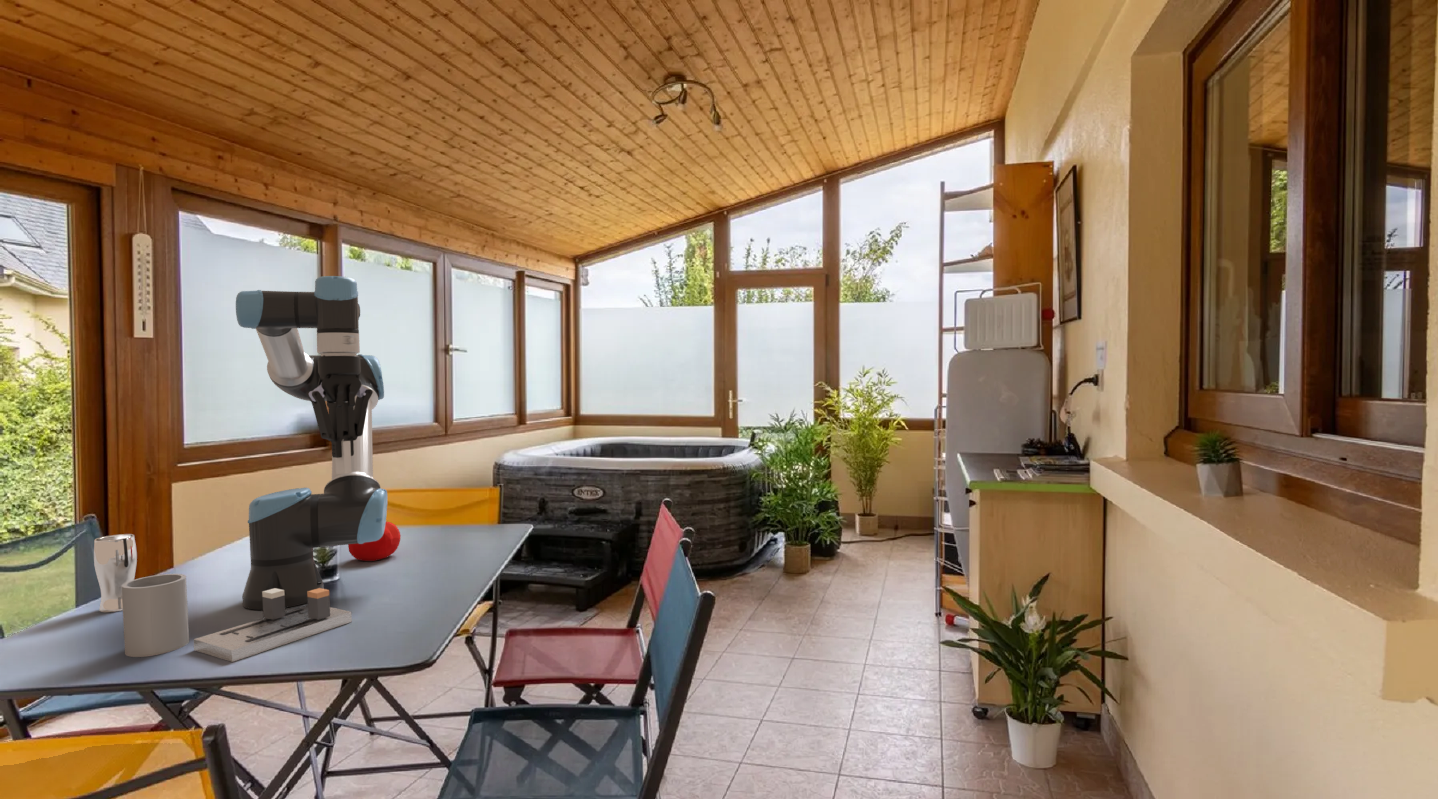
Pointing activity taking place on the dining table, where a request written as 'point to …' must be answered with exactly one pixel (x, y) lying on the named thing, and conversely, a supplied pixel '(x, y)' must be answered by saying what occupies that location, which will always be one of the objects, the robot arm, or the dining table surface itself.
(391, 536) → the tomato
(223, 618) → the dining table surface
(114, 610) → the beer glass
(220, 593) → the dining table surface
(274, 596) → the fader far
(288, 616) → the console
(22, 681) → the dining table surface
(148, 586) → the cup
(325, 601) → the fader near
